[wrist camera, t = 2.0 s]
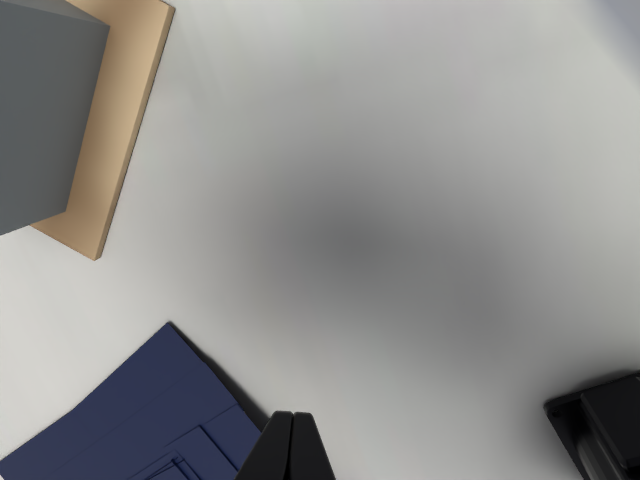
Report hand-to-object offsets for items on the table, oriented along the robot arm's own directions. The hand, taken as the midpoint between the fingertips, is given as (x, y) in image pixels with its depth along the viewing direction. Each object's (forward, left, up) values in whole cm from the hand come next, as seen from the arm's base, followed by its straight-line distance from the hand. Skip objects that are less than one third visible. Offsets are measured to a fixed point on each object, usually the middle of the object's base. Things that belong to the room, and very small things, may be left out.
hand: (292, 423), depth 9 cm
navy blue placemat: (-15, +22, -12) cm, 29 cm away
